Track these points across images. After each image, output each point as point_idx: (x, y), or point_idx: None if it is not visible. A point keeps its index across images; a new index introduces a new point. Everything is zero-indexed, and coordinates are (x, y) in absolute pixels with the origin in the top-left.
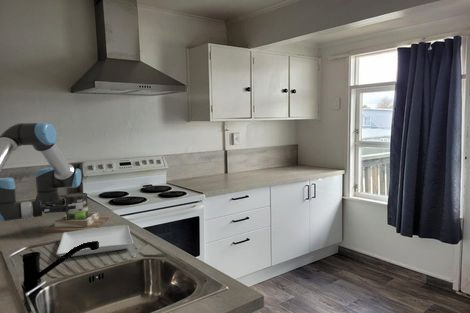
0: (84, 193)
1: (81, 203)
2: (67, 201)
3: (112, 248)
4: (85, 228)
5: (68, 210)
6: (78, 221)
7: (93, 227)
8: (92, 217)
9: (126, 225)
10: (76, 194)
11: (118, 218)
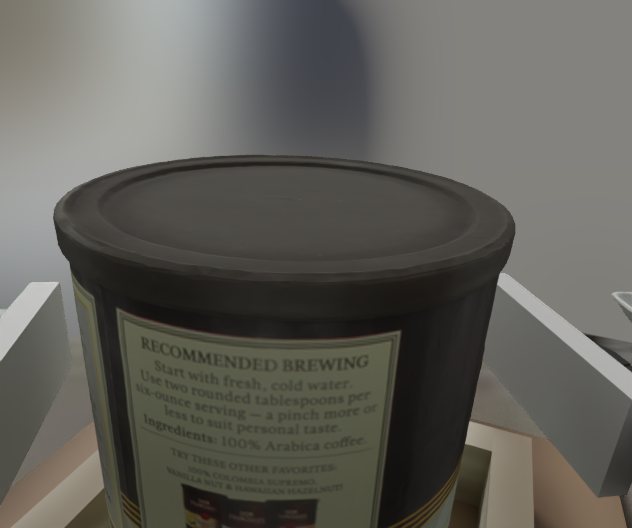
0: (232, 162)
1: (515, 283)
2: (448, 370)
3: None
4: (590, 510)
5: (626, 492)
6: (531, 522)
7: (553, 450)
8: None
9: (618, 296)
10: (235, 194)
11: None
